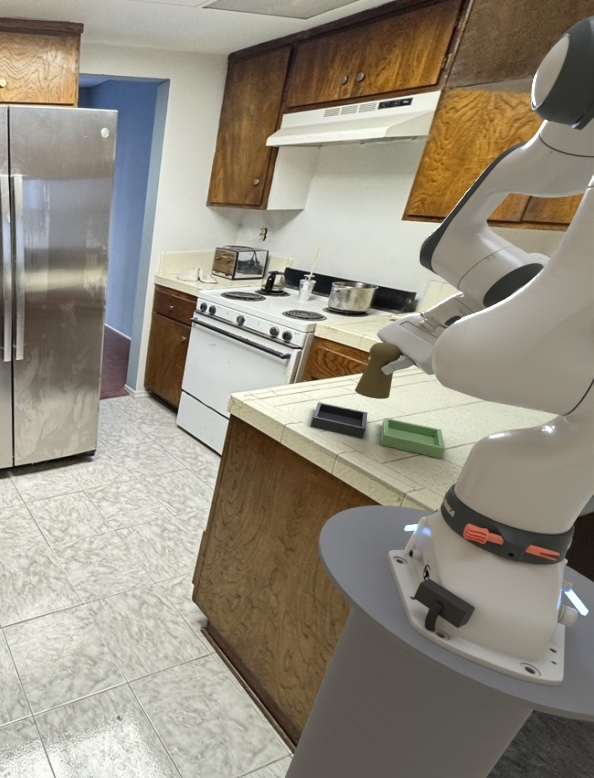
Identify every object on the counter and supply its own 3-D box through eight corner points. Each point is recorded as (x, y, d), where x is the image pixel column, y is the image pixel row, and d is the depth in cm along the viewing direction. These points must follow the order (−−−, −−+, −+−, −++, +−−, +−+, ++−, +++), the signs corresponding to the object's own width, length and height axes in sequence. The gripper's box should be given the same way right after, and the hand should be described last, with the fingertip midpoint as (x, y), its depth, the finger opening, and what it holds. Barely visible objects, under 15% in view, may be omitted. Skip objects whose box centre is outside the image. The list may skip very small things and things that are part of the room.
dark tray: (362, 438, 110) (365, 429, 109) (310, 426, 116) (313, 417, 115) (364, 421, 117) (367, 412, 116) (315, 410, 123) (318, 402, 122)
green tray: (440, 458, 101) (445, 448, 100) (380, 444, 107) (383, 434, 106) (437, 438, 109) (441, 429, 108) (381, 426, 115) (384, 417, 114)
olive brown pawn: (382, 388, 102) (398, 340, 98) (394, 400, 97) (412, 350, 92) (350, 386, 104) (364, 338, 99) (361, 397, 98) (376, 348, 94)
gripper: (413, 300, 100) (348, 340, 107) (471, 327, 82) (389, 374, 89) (430, 321, 101) (365, 360, 108) (491, 352, 83) (409, 397, 90)
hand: (376, 366), depth 98 cm, fingers closed on olive brown pawn, 4 cm apart
